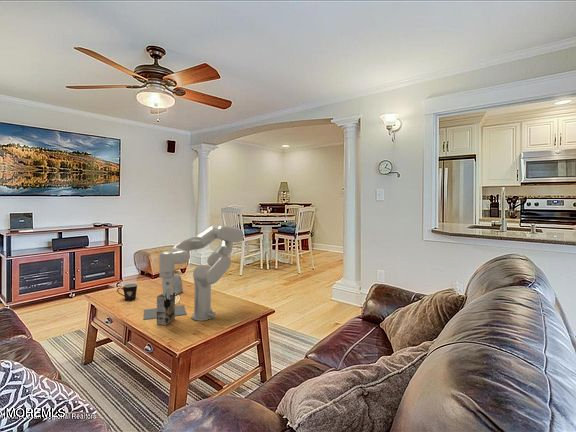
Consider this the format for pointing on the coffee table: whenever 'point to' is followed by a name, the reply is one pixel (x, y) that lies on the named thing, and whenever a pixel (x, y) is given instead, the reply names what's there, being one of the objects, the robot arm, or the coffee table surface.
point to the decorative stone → (177, 284)
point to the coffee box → (165, 310)
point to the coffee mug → (129, 291)
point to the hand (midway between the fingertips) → (167, 306)
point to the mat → (153, 312)
